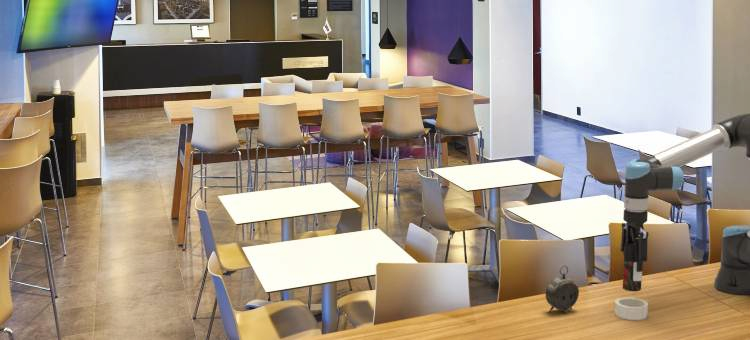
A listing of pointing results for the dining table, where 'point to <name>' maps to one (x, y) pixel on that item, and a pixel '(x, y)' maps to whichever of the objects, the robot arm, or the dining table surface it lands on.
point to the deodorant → (629, 269)
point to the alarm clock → (562, 292)
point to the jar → (631, 308)
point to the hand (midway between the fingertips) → (632, 277)
